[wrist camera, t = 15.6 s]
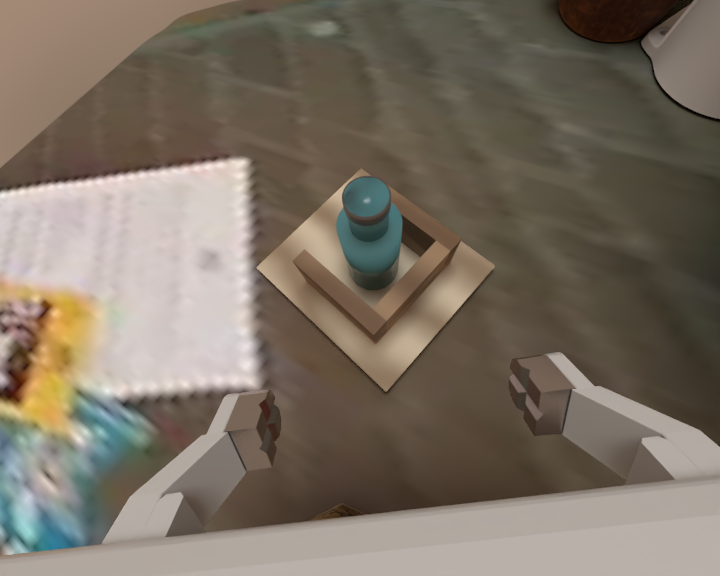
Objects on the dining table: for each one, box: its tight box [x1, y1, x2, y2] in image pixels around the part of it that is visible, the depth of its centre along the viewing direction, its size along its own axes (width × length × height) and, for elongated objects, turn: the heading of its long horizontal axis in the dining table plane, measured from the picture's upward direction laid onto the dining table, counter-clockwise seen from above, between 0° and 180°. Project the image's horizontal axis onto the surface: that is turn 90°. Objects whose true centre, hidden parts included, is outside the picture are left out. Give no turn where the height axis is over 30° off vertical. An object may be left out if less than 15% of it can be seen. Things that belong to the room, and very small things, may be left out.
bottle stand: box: [256, 169, 495, 392], centre depth 30 cm, size 16×18×6 cm
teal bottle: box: [336, 176, 402, 290], centre depth 26 cm, size 5×5×12 cm
